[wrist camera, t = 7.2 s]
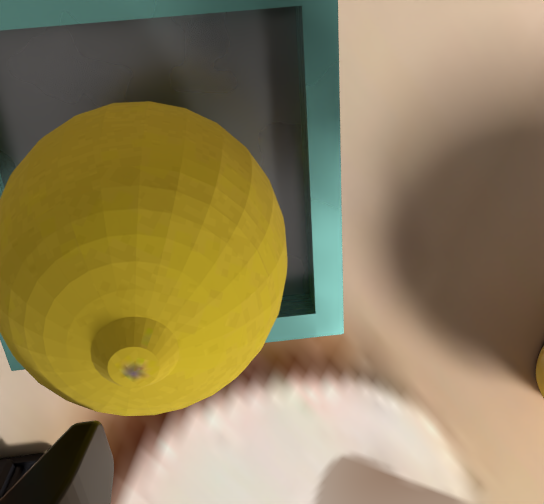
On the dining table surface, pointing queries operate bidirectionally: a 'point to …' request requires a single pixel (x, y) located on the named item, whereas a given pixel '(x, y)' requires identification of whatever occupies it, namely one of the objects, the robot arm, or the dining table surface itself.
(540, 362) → the plant pot
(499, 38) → the dining table surface
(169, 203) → the lemon
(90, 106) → the teal tray on stand
